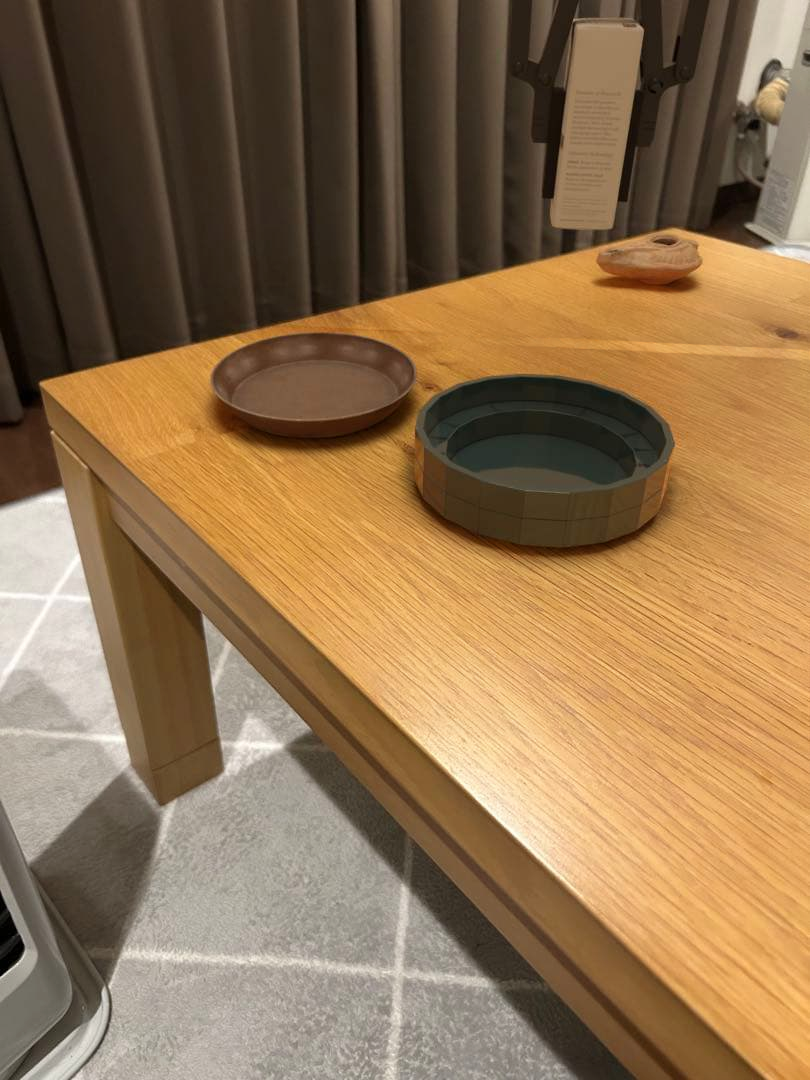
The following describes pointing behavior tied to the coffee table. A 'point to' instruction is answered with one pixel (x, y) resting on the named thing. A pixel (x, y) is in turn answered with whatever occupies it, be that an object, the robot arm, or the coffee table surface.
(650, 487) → the bowl
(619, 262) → the pottery oil lamp
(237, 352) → the plant saucer
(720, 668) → the coffee table surface
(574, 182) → the cosmetic box
